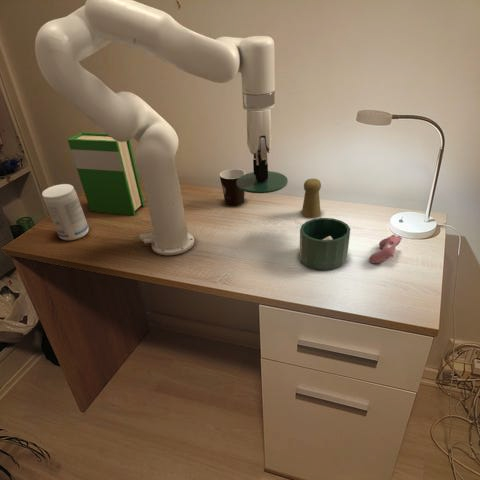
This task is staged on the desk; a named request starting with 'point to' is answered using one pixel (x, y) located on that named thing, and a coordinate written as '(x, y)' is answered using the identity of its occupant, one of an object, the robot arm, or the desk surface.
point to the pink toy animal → (386, 249)
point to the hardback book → (107, 173)
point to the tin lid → (262, 183)
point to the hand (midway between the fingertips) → (260, 176)
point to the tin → (324, 243)
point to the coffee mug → (232, 187)
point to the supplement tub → (65, 211)
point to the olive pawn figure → (311, 199)
